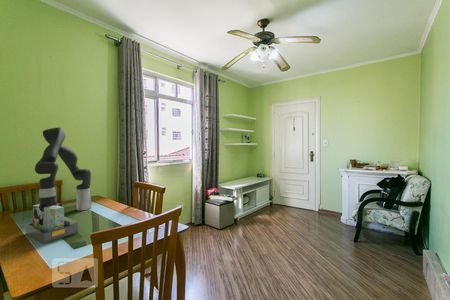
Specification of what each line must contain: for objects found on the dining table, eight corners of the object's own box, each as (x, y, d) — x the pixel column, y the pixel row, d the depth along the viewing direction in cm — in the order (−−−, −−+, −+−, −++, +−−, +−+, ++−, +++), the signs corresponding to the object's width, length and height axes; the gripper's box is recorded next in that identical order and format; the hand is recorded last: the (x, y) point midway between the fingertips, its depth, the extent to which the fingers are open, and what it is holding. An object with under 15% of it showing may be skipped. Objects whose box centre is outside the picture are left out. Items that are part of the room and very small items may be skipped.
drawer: (58, 224, 140) (58, 213, 140) (78, 233, 127) (78, 220, 127) (26, 233, 126) (25, 221, 126) (44, 244, 113) (44, 230, 113)
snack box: (65, 231, 124) (64, 206, 124) (55, 235, 119) (54, 209, 118) (42, 226, 132) (42, 202, 131) (32, 229, 126) (31, 205, 126)
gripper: (58, 192, 132) (59, 218, 133) (29, 197, 120) (30, 225, 121) (64, 193, 129) (65, 220, 129) (34, 199, 116) (35, 228, 117)
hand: (48, 222), depth 125 cm, fingers closed on snack box, 6 cm apart
